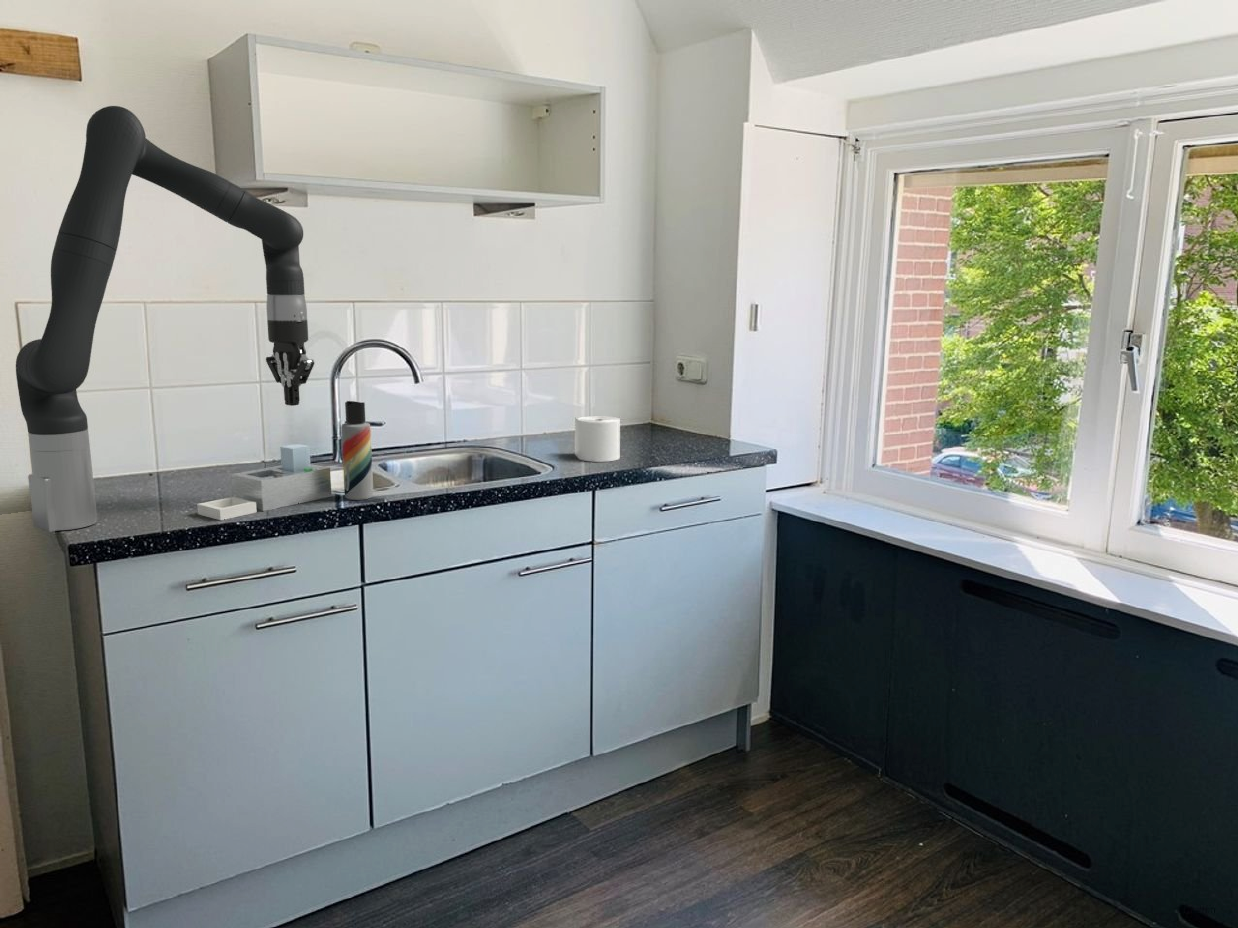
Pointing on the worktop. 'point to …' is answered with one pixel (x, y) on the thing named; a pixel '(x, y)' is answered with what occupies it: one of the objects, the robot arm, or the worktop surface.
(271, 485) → the two-compartment grey tray
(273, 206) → the robot arm
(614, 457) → the toilet tissue
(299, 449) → the light blue block
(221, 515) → the white open box
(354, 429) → the lotion bottle
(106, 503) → the worktop surface
